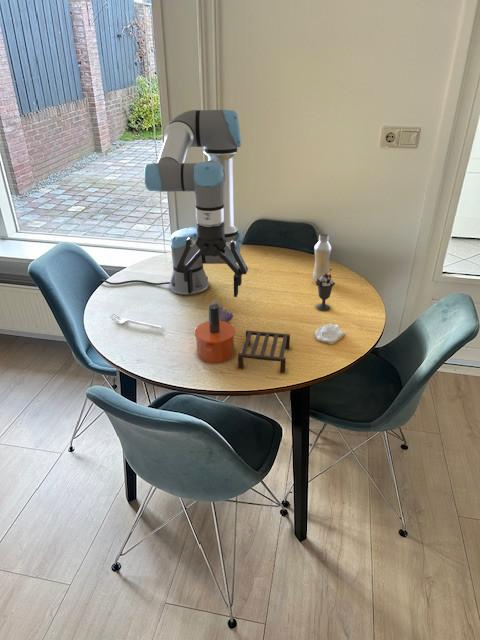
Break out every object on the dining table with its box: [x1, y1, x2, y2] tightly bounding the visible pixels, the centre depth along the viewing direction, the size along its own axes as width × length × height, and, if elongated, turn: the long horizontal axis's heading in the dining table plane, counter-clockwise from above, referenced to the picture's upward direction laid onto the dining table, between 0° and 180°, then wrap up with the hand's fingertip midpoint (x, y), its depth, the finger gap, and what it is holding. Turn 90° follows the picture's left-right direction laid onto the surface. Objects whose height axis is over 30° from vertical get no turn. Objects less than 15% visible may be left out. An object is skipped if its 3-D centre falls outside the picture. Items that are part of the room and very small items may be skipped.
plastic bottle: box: [311, 233, 332, 284], centre depth 188 cm, size 6×7×20 cm
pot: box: [195, 321, 235, 364], centre depth 148 cm, size 11×17×8 cm
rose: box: [314, 323, 346, 345], centre depth 156 cm, size 10×4×10 cm
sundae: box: [315, 268, 336, 312], centre depth 171 cm, size 7×7×15 cm
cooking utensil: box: [109, 313, 163, 330], centre depth 165 cm, size 3×20×2 cm, turn 70°
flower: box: [212, 299, 234, 323], centre depth 163 cm, size 9×9×10 cm
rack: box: [237, 329, 291, 374], centre depth 146 cm, size 14×14×5 cm
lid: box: [194, 303, 236, 343], centre depth 144 cm, size 12×12×10 cm
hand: (213, 293), depth 140 cm, fingers open, 13 cm apart
